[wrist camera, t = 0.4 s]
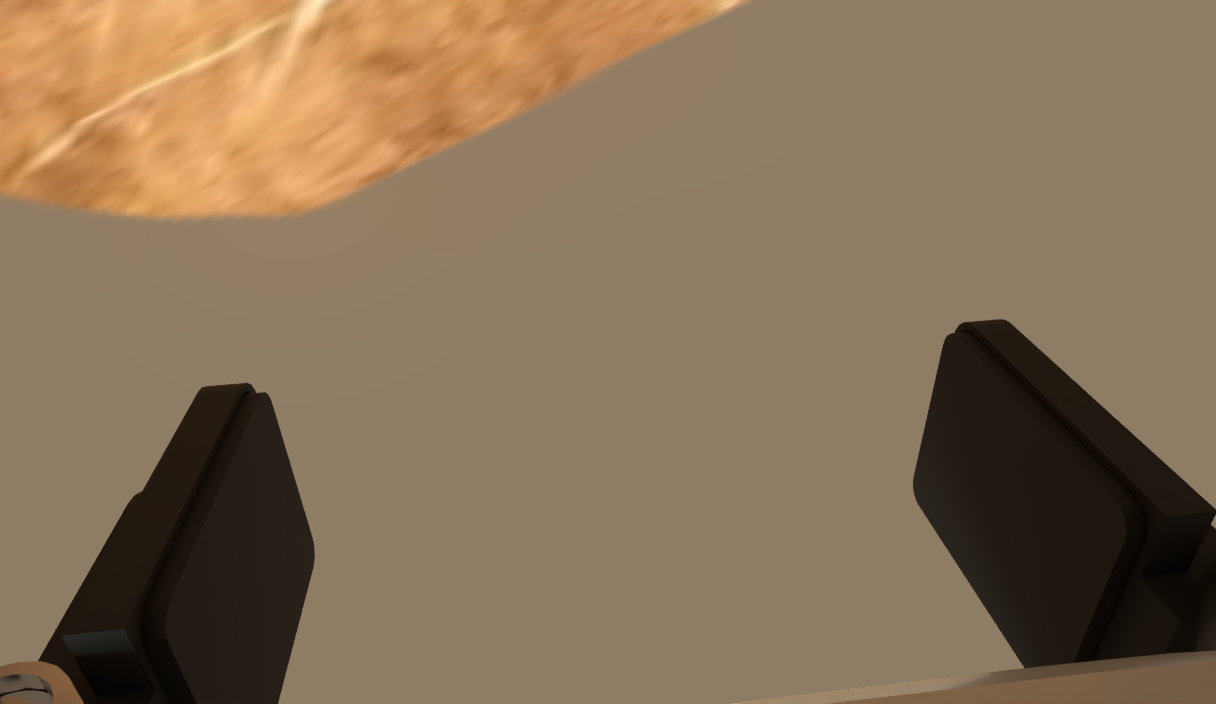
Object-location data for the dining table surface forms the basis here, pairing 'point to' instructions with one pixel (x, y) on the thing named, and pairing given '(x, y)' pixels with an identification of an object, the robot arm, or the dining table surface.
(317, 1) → the dining table surface
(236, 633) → the robot arm
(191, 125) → the dining table surface
